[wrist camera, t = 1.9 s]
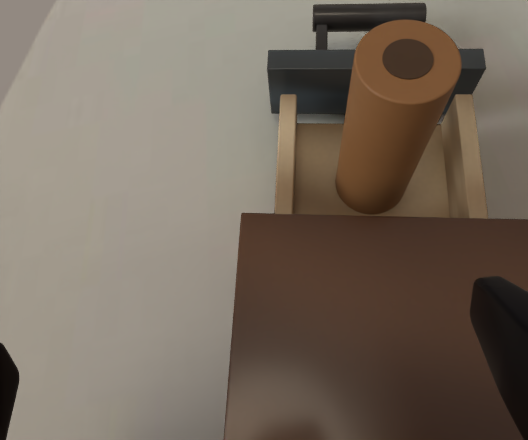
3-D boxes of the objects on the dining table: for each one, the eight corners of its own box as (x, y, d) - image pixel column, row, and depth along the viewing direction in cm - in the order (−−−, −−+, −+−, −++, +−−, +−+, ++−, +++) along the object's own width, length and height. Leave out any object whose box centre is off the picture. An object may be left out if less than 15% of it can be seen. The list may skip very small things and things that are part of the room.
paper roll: (418, 180, 23) (484, 52, 15) (375, 228, 23) (419, 121, 14) (364, 141, 24) (397, 1, 16) (321, 186, 24) (332, 64, 15)
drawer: (275, 37, 29) (272, -15, 25) (452, 35, 28) (474, -19, 24) (260, 314, 23) (252, 296, 19) (485, 323, 22) (521, 306, 18)
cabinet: (253, 253, 25) (240, 211, 20) (483, 260, 24) (534, 218, 19) (232, 565, 20) (209, 620, 15) (523, 591, 19) (608, 659, 14)
